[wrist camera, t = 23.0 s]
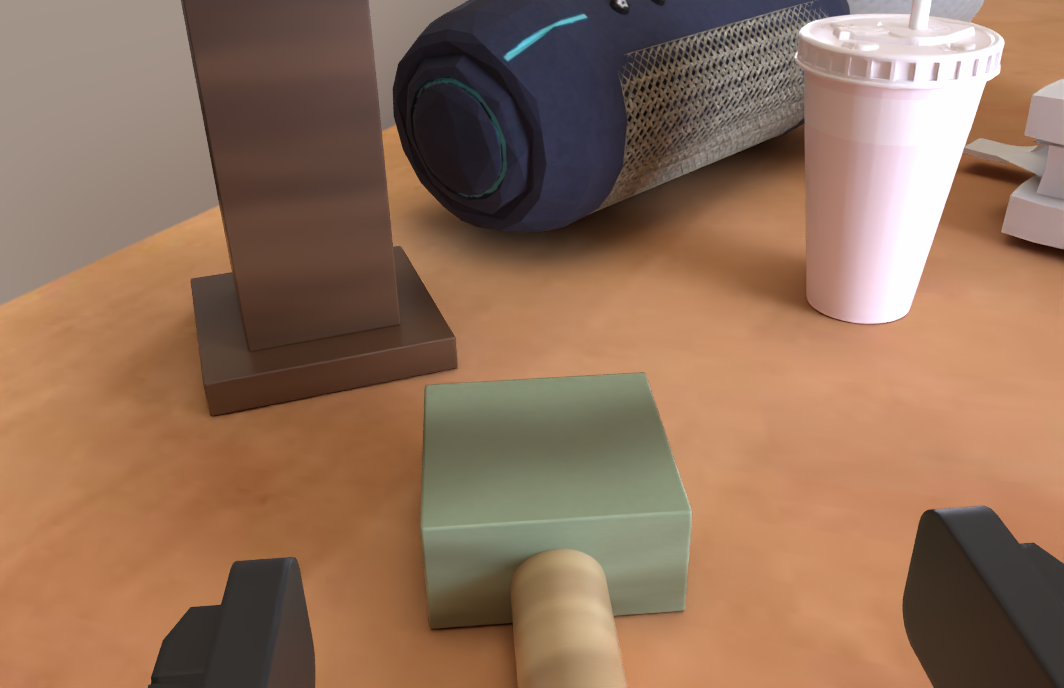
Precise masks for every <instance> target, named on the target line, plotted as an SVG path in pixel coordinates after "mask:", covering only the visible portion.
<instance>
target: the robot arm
mask: <svg viewBox="0 0 1064 688" xmlns="http://www.w3.org/2000/svg"><path fill="white" fill-rule="evenodd" d="M903 619H904V625H905V629H906V633H907V636H908V639H909V642H910V644H911V646H912V648H913V650H914V652H915V654H916V656H917V657H918V659H919V661H920V663H921V665H922V667H923V668H924V670H925V672H926V674H927V676H928V678H929V679H930V681H931V683H932V685H933V687H934V688H1064V564H1063V563H1062V562H1060V561H1059V560H1058V559H1056V558H1055V557H1053V556H1052V555H1050V554H1049V553H1048V552H1046V551H1045V550H1043V549H1042V548H1040V547H1039V546H1038V545H1036V544H1035V543H1024V544H1019V543H1018V542H1017V540H1016V539H1015V538H1014V536H1013V535H1012V534H1011V532H1010V531H1009V530H1008V528H1007V527H1006V526H1005V525H1004V523H1003V522H1002V521H1001V519H1000V518H999V517H998V515H997V514H996V513H995V512H994V511H993V510H992V509H991V508H989V507H987V506H974V507H960V508H946V509H932V510H927V511H925V512H924V513H923V515H922V516H921V519H920V522H919V526H918V530H917V535H916V539H915V544H914V549H913V553H912V558H911V563H910V567H909V572H908V577H907V581H906V586H905V591H904V596H903ZM148 688H315V654H314V645H313V639H312V633H311V628H310V622H309V617H308V611H307V606H306V600H305V595H304V589H303V584H302V578H301V573H300V568H299V564H298V561H297V559H296V558H295V557H287V558H273V559H259V560H245V561H236V562H234V563H233V565H232V567H231V570H230V573H229V577H228V581H227V585H226V588H225V592H224V596H223V600H222V603H221V605H213V606H200V607H190V609H189V610H188V611H187V612H186V613H185V615H184V616H183V617H182V618H181V619H180V621H179V622H178V623H177V624H176V625H175V627H174V628H173V629H172V630H171V631H170V633H169V634H168V635H167V636H166V637H165V639H164V640H163V642H162V645H161V648H160V651H159V654H158V657H157V661H156V664H155V667H154V670H153V673H152V676H151V685H148Z"/></svg>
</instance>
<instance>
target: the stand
mask: <svg viewBox="0 0 1064 688" xmlns="http://www.w3.org/2000/svg"><path fill="white" fill-rule="evenodd" d="M181 3H182V9H183V14H184V19H185V25H186V30H187V35H188V41H189V46H190V51H191V57H192V62H193V67H194V72H195V78H196V83H197V88H198V93H199V99H200V104H201V110H202V115H203V120H204V126H205V131H206V136H207V142H208V146H209V152H210V157H211V163H212V168H213V173H214V179H215V184H216V189H217V195H218V200H219V205H220V211H221V216H222V221H223V226H224V232H225V237H226V242H227V248H228V253H229V258H230V264H231V269H232V272H231V273H225V274H219V275H212V276H206V277H200V278H193V279H191V288H192V296H193V304H194V312H195V320H196V328H197V335H198V343H199V351H200V359H201V367H202V375H203V383H204V389H205V393H206V398H207V402H208V407H209V412H210V415H211V416H215V415H220V414H225V413H230V412H235V411H240V410H245V409H250V408H255V407H260V406H266V405H271V404H276V403H281V402H286V401H291V400H296V399H301V398H306V397H311V396H316V395H322V394H327V393H332V392H337V391H342V390H347V389H352V388H357V387H362V386H367V385H372V384H377V383H383V382H388V381H393V380H398V379H403V378H408V377H413V376H418V375H423V374H428V373H433V372H439V371H444V370H449V369H454V368H457V352H456V338H455V336H454V335H453V333H452V331H451V330H450V328H449V326H448V324H447V323H446V321H445V319H444V318H443V316H442V314H441V313H440V311H439V309H438V308H437V306H436V304H435V303H434V301H433V299H432V298H431V296H430V294H429V293H428V291H427V289H426V287H425V286H424V284H423V282H422V281H421V279H420V277H419V276H418V274H417V272H416V271H415V269H414V267H413V266H412V264H411V262H410V261H409V259H408V257H407V255H406V254H405V252H404V250H403V249H402V247H401V246H395V247H393V243H392V233H391V223H390V212H389V202H388V192H387V182H386V172H385V162H384V152H383V141H382V131H381V123H380V122H381V121H380V111H379V101H378V91H377V81H376V71H375V61H374V50H373V41H372V30H371V20H370V10H369V0H181Z"/></svg>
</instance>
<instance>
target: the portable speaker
mask: <svg viewBox="0 0 1064 688" xmlns="http://www.w3.org/2000/svg"><path fill="white" fill-rule="evenodd" d="M842 15H850V7H849V4H848V2H847V0H469V1H467V2H465V3H463V4H462V5H460V6H458V7H456V8H455V9H453V10H451V11H449V12H447V13H446V14H444V15H443V16H441V17H439V18H438V19H436V20H435V21H433V22H432V23H430V24H429V26H428V27H427V28H426V29H425V30H424V31H423V32H422V34H421V35H420V36H419V37H418V38H417V40H416V41H415V43H414V44H413V45H412V47H411V48H410V49H409V50H408V52H407V53H406V54H405V56H404V57H403V59H402V60H401V61H400V62H399V64H398V68H397V72H396V77H395V82H394V86H393V105H394V106H393V109H394V118H395V122H396V126H397V129H398V133H399V136H400V140H401V144H402V147H403V150H404V152H405V154H406V156H407V158H408V160H409V162H410V163H411V165H412V167H413V169H414V171H415V173H416V175H417V177H418V178H419V180H420V182H421V183H422V184H423V185H424V187H425V188H426V189H427V190H428V191H429V192H430V193H431V194H432V195H433V196H434V197H435V198H436V199H437V200H438V201H439V202H440V203H441V204H442V205H443V207H445V208H446V209H447V210H449V211H450V212H451V213H453V214H454V215H455V216H457V217H458V218H459V219H461V220H462V221H465V222H467V223H469V224H472V225H474V226H476V227H481V228H487V229H492V230H498V231H506V232H541V231H547V230H552V229H558V228H563V227H565V226H567V225H569V224H571V223H573V222H575V221H577V220H579V219H581V218H583V217H585V216H587V215H589V214H591V213H594V212H596V211H598V210H601V209H603V208H605V207H608V206H610V205H613V204H615V203H617V202H620V201H622V200H624V199H627V198H630V197H631V196H634V195H637V194H639V193H641V192H644V191H646V190H649V189H651V188H653V187H656V186H658V185H660V184H663V183H665V182H668V181H670V180H672V179H675V178H677V177H680V176H682V175H684V174H687V173H689V172H691V171H694V170H696V169H699V168H701V167H703V166H706V165H708V164H711V163H713V162H715V161H718V160H720V159H723V158H725V157H727V156H730V155H732V154H735V153H737V152H739V151H742V150H744V149H747V148H749V147H751V146H753V145H756V144H758V143H761V142H763V141H766V140H768V139H770V138H774V137H777V136H780V135H784V134H787V133H789V132H790V131H792V130H794V129H795V128H797V127H799V126H800V125H802V124H804V123H805V119H804V70H803V69H802V68H801V67H799V66H798V65H797V64H796V62H795V58H794V56H795V54H796V53H797V51H798V43H799V32H800V30H801V29H802V28H803V27H804V26H806V25H807V24H809V23H811V22H814V21H816V20H820V19H824V18H829V17H835V16H842Z"/></svg>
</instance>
